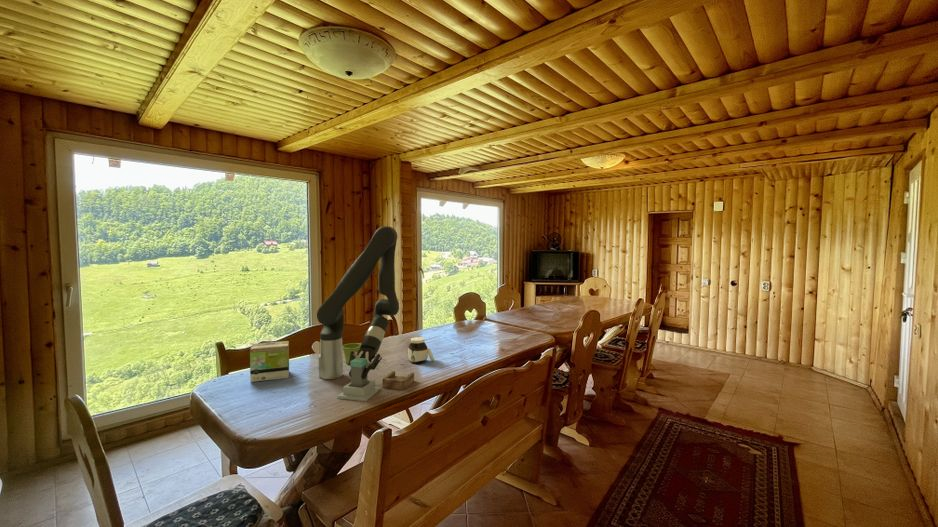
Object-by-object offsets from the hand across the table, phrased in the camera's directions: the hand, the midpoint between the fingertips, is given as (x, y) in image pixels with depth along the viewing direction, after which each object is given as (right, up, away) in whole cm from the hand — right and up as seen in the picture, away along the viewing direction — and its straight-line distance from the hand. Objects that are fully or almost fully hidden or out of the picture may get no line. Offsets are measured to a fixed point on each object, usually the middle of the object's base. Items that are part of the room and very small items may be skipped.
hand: (356, 377), depth 148 cm
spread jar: (+20, -5, +43) cm, 47 cm away
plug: (+1, -5, +2) cm, 5 cm away
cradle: (+14, -7, +12) cm, 20 cm away
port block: (0, -7, +2) cm, 7 cm away
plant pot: (-14, -5, +40) cm, 43 cm away
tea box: (-45, -6, +21) cm, 49 cm away
